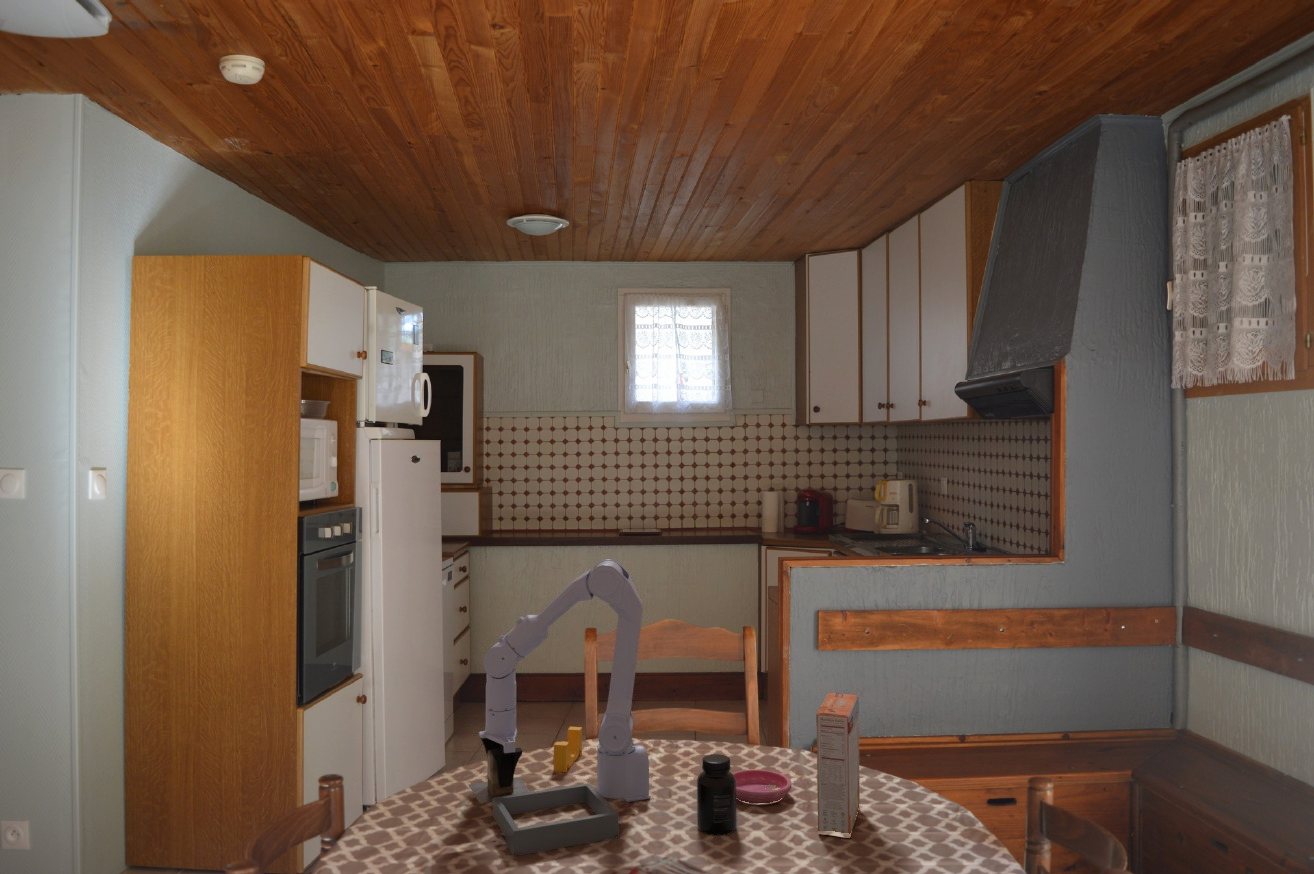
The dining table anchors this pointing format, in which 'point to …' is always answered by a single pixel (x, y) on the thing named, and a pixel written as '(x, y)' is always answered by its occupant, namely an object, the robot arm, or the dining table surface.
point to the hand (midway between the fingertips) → (500, 779)
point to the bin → (560, 831)
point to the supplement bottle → (716, 796)
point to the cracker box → (838, 762)
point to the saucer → (754, 792)
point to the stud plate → (486, 796)
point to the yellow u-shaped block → (568, 750)
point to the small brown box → (495, 777)
